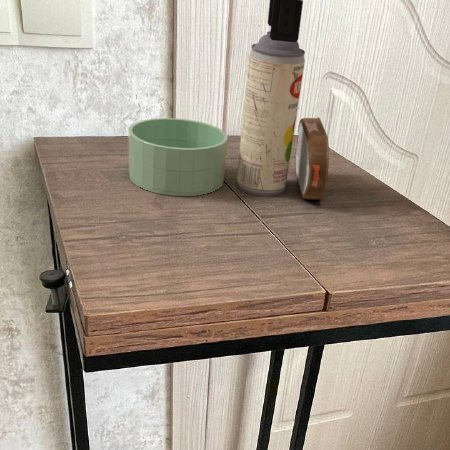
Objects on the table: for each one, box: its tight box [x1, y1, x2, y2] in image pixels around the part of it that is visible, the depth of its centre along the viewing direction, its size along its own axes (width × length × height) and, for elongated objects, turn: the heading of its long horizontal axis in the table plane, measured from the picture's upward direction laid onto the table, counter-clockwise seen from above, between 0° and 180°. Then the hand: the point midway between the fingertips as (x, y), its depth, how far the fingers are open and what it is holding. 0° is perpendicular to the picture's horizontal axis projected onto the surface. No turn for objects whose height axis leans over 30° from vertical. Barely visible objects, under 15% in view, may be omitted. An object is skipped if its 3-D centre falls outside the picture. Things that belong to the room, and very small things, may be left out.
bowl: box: [127, 117, 229, 197], centre depth 84 cm, size 13×13×6 cm
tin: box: [294, 116, 330, 201], centre depth 85 cm, size 15×3×8 cm, turn 0°
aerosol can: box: [235, 28, 306, 197], centre depth 80 cm, size 7×7×20 cm
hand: (281, 33), depth 75 cm, fingers open, 9 cm apart
